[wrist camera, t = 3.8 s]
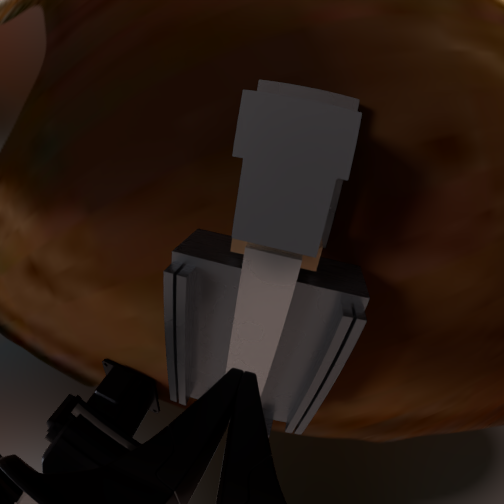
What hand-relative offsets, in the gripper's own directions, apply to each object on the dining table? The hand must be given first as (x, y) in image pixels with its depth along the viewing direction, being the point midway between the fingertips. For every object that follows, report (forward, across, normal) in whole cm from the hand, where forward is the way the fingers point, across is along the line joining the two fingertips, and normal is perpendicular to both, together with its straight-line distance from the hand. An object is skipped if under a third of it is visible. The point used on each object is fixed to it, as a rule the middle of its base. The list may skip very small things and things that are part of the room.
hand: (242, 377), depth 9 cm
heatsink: (+9, 0, +5) cm, 10 cm away
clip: (+8, 0, -6) cm, 10 cm away
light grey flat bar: (+5, 0, +4) cm, 6 cm away
